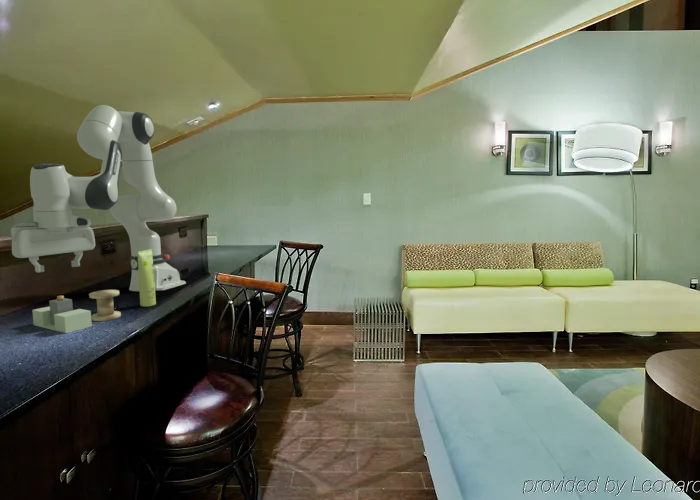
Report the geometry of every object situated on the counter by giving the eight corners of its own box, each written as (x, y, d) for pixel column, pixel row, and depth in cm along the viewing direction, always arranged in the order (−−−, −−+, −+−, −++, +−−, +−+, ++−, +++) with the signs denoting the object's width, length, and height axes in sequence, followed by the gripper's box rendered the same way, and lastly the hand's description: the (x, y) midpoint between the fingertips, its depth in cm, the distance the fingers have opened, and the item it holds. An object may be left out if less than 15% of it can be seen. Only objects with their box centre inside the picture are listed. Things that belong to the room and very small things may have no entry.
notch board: (59, 319, 124) (58, 304, 123) (91, 326, 116) (90, 310, 116) (33, 325, 117) (32, 309, 117) (65, 333, 110) (64, 316, 110)
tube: (157, 305, 139) (154, 250, 137) (141, 308, 137) (137, 251, 134) (154, 302, 144) (151, 248, 142) (139, 304, 141) (135, 249, 139)
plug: (73, 322, 118) (71, 295, 117) (59, 326, 114) (56, 298, 113) (66, 320, 120) (63, 294, 119) (51, 324, 116) (48, 296, 115)
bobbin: (110, 312, 131) (109, 288, 130) (126, 315, 127) (124, 291, 126) (85, 319, 124) (83, 293, 123) (101, 322, 120) (99, 296, 119)
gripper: (16, 224, 103) (22, 276, 105) (96, 219, 121) (100, 264, 123) (3, 223, 106) (9, 274, 108) (83, 219, 124) (87, 263, 126)
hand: (58, 269), depth 115 cm, fingers open, 8 cm apart
